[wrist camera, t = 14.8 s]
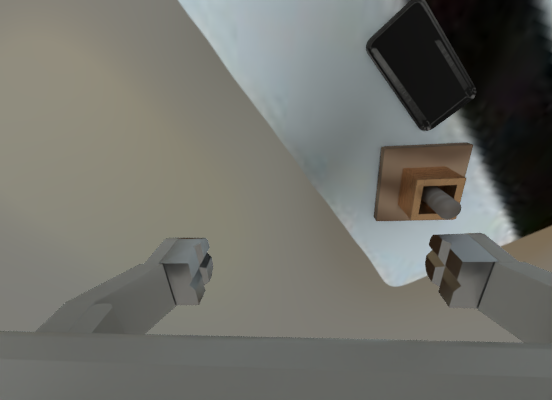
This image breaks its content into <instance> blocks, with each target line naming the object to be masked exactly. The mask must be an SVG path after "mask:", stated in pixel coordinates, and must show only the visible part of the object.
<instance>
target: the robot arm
mask: <svg viewBox="0 0 552 400" xmlns="http://www.w3.org/2000/svg"><path fill="white" fill-rule="evenodd" d="M429 246H430V247H431V249H432V251H431V252H430V253H429V254H427V256H426V261H425V266H426V272H427V275H428V277H429V279H430V280H431V281H432V282H433V283H434V284H436V285H437V286H439V287H440V288H439V293H440V295H441V296H442V298H443V299H444V301H445V302H446V304H447V305H448V306H449V307H450V308H477V309H478V310H479V311H480V312H482V313H483V314H484V315H486V316H487V317H489V318H490V319H492V320H493V321H494V322H496V323H497V324H499V325H500V326H501V327H503V328H504V329H506V330H507V331H509V332H510V333H511V334H513V335H514V336H516V337H517V338H518V339H520V340H521V341H523V342H524V343H514V342H511V343H510V342H469V341H427V340H424V341H423V340H386V339H384V340H383V339H339V338H292V337H291V338H290V337H244V336H243V337H242V336H198V335H154V334H145V333H146V332H147V331H149V330H150V329H151V328H152V327H153V326H154V325H155V324H156V323H158V322H159V321H160V320H161V319H162V318H163V317H164V316H166V314H168V313H169V312H170V311H171V310H172V309H173V308H175V307H176V305H199V304H200V301H201V299H202V297H203V295H204V292H205V287H204V285H205V284H207V283H208V282H209V281H210V279H211V276H212V270H213V263H212V257H211V256H209V254H208V253H207V251H208V249H209V244H208V240H207V239H206V238H166V239H165V240H164V241H163V242H162V243H161V244H160V246H159V247H158V248H157V249H156V250H155V252H154V253H153V254H152V255H151V256H150V257H149V259H148V260H147V261H146V262H145V263H144V264H139V265H137V266H135V267H133V268H131V269H129V270H127V271H126V272H123V273H121V274H119V275H117V276H116V277H114V278H112V279H110V280H108V281H106V282H104V283H102V284H101V285H98V286H96V287H94V288H92V289H90V290H88V291H87V292H85V293H83V294H81V295H79V296H77V297H75V298H73V299H71V300H69V301H67V302H66V303H65V304H63V306H61V307H60V308H59V309H58V310H57V311H56V312H55V313H54V314H53V315H52V316H51V317H50V318H49V319H48V320H47V321H46V322H45V323H44V324H42V325H41V326H40V327H39V328H38V329H37V330H36V331H35V332H23V331H22V332H21V331H0V400H552V272H549V271H546V270H544V269H541V268H539V267H536V266H533V265H531V264H528V263H526V262H519V261H517V260H516V259H515V258H514V257H512V256H511V255H510V254H509V253H507V252H506V251H505V250H503V249H502V248H501V247H500V246H499V245H497V244H496V243H495V242H494V241H492V240H491V239H490V238H489V237H487V236H486V235H485V234H482V233H467V234H444V235H433V236H432V237H431V239H430V242H429Z"/></svg>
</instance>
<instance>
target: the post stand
mask: <svg viewBox="0 0 552 400" xmlns="http://www.w3.org/2000/svg"><path fill="white" fill-rule="evenodd" d="M472 147H473V145H472V144H469V143H447V144H426V145H405V146H384V147H382V148H381V157H380V166H379V175H378V184H377V194H376V203H375V212H374V218H375V219H376V221H406V220H410V219H409V217H408V216H407V215H406V214H405V213H404V211H403V210H402V209H401V208H400V207H399V205H398V200H399V193H400V185H401V178H402V171H403V168H421V167H442V166H446V167H448V168H449V169H451V170H453V171H455V172H456V173H458V174H460V175H462V176H463V177H465V174H466V170H467V167H468V163H469V159H470V155H471V151H472ZM421 199H422V200H423V201H424V202H425V203H426V204H427V205H428V206H429V207H430V208H432V209H433V210H434V211H435V212H436V213H437V214H438V215H439V216H440V217H441V218H443V219H431V220H453V219H452V218H454V217H456V216H457V215H458V214H459V213H460V211H461V205H460V203H459V202H457V201H456V200H455V199H453V198H452V197H450V196H449V195H448V194H446V193H445V192H444V191H442V190H441V189H440V188H438V187H437V186H423V192H422V197H421Z"/></svg>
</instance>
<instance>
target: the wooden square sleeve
mask: <svg viewBox="0 0 552 400" xmlns="http://www.w3.org/2000/svg"><path fill="white" fill-rule="evenodd" d="M465 181H466V178H465V177H463V176H462V175H460V174H458V173H456V172H455V171H453V170H451V169H449V168H448V167H446V166H442V167H421V168H403V171H402V178H401V185H400V193H399V200H398V205H399V207H400V208H401V209H402V210H403V211H404V213H405V214H406V215H407V216H408V217H409V219H410V220H431V219H443V218H441V217H440V216H439V215H438V214H437V213H436V212H435V211H434V210H433V209H432V208H430V207H429V206H428V205H427V204H426V203H425V202H424V201H423V200H422V199H421V197H422V192H423V186H437V187H438V188H440V189H441V190H442V191H444V192H445V193H446V194H448V195H449V196H450V197H452V198H453V199H455V200H456V201H457V202H459V203H460V201H461V197H462V193H463V189H464V185H465ZM452 219H456V217H454V218H452Z"/></svg>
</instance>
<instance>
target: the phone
mask: <svg viewBox="0 0 552 400" xmlns="http://www.w3.org/2000/svg"><path fill="white" fill-rule="evenodd" d="M366 51H367V53H368V54H369V56H370V57H371V59H372V60H373V62H374V63H375V65H376V66H377V67H378V69H379V70H380V72H381V73H382V75H383V76H384V78H385V79H386V81H387V82H388V83H389V85H390V86H391V88H392V89H393V91H394V92H395V94H396V95H397V96H398V98H399V99H400V101H401V102H402V104H403V105H404V107H405V108H406V110H407V111H408V112H409V114H410V115H411V117H412V118H413V120H414V121H415V123H416V124H417V125H418V127H419V128H420V129H422V130H426V131H428V130H431V129H433V128H434V127H436V126H437V125H438V124H440V123H441V122H442V121H444V120H445V119H446V118H448V117H449V116H451V115H452V114H453V113H455V112H456V111H457V110H459V109H460V108H462V107H463V106H464V105H466V104H467V103H468V102H470V101H471V100H472V99H473V98H474V97H475V95H476V87H475V85H474V84H473V82H472V80H471V79H470V77H469V75H468V73H467V72H466V70H465V68H464V66H463V65H462V63H461V61H460V60H459V58H458V56H457V54H456V53H455V51H454V49H453V47H452V46H451V44H450V42H449V40H448V39H447V37H446V35H445V34H444V32H443V30H442V28H441V27H440V25H439V23H438V21H437V20H436V18H435V16H434V15H433V13H432V11H431V9H430V8H429V6H428V4H427V2H426V1H425V0H411V1H410V2H408V3H407V4H406V6H404V7H403V8H402V9H401V10H400V11H399V12H398V13H397V14H396V15H395V16H394V17H392V18H391V19H390V20H389V21H388V22H387V23H386V24H385V25H384V26H383V27H382V28H381V29H380V30H379V31H378V32H377V33H375V34H374V35H373V36H372V37H371V38H370V39H369V41H368V42H367V45H366Z"/></svg>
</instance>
